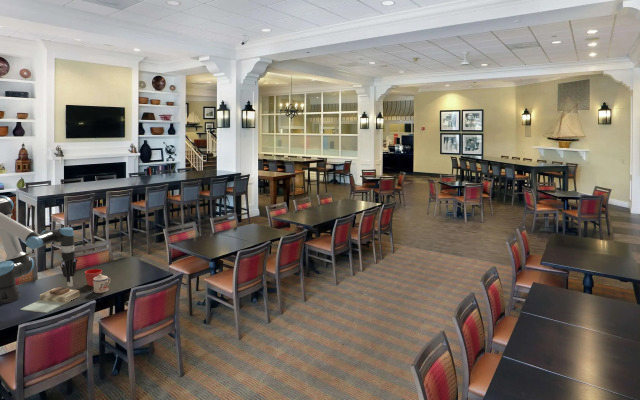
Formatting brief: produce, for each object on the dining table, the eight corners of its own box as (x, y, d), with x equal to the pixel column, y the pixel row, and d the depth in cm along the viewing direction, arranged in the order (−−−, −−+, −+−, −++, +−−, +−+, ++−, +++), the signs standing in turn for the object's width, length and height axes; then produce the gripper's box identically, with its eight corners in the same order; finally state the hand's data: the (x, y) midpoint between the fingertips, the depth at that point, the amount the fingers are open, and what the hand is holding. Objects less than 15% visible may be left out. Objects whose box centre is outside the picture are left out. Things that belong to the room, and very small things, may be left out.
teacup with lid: (100, 294, 270) (99, 277, 268) (90, 292, 273) (89, 275, 271) (115, 288, 281) (114, 272, 279) (105, 286, 284) (104, 270, 282)
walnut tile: (49, 294, 257) (49, 291, 257) (58, 290, 264) (58, 287, 264) (61, 295, 256) (60, 292, 256) (69, 291, 263) (69, 288, 263)
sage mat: (20, 309, 243) (20, 309, 243) (40, 300, 256) (39, 299, 256) (47, 313, 240) (46, 312, 240) (65, 303, 253) (65, 302, 253)
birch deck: (40, 300, 256) (39, 294, 256) (55, 293, 268) (54, 287, 267) (65, 303, 253) (65, 297, 253) (79, 296, 265) (79, 290, 265)
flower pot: (100, 280, 294) (100, 267, 293) (104, 285, 286) (103, 271, 284) (84, 283, 287) (83, 270, 286) (87, 288, 279) (86, 274, 278)
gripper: (65, 254, 258) (67, 290, 262) (80, 249, 271) (82, 283, 274) (54, 253, 259) (57, 289, 263) (70, 248, 272) (72, 282, 276)
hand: (70, 285), depth 269 cm, fingers closed
